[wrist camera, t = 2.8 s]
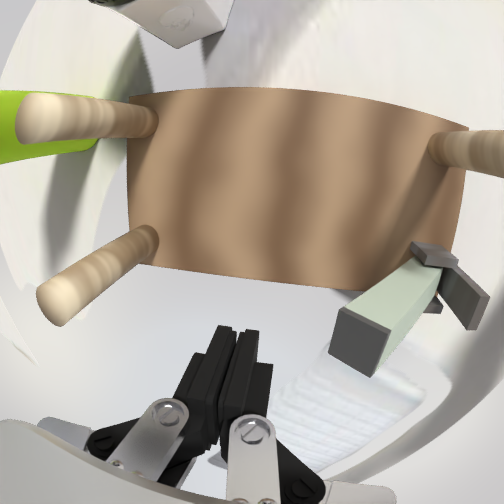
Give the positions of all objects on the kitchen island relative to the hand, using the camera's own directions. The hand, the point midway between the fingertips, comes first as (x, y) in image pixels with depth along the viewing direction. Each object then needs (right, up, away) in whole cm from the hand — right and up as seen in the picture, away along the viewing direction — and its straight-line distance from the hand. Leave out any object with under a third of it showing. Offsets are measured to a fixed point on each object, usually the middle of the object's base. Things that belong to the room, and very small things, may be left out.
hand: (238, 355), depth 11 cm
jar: (-5, +26, +6) cm, 27 cm away
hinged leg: (+9, +2, +5) cm, 11 cm away
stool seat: (+4, +9, +11) cm, 15 cm away
